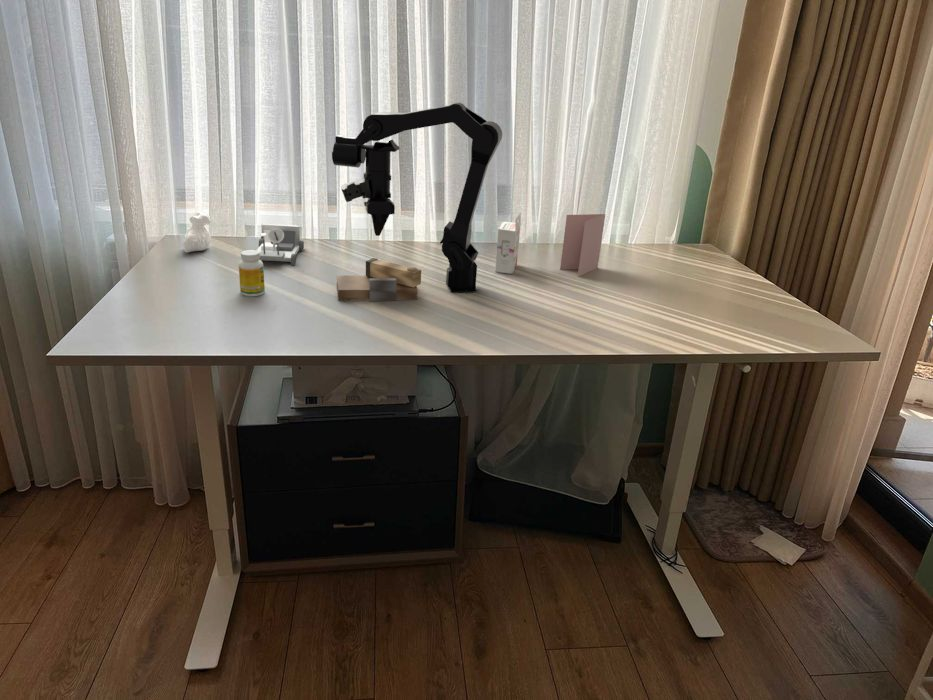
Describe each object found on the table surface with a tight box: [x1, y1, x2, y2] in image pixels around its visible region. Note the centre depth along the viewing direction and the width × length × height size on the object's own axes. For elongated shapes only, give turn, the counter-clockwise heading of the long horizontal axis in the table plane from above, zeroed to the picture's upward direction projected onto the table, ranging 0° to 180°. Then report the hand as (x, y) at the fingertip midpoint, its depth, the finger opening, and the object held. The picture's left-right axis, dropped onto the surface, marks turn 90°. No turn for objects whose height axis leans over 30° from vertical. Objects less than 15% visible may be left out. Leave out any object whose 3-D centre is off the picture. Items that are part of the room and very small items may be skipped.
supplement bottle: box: [238, 249, 265, 297], centre depth 160 cm, size 5×5×10 cm
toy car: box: [256, 223, 305, 266], centre depth 185 cm, size 18×10×12 cm
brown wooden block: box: [336, 275, 419, 302], centre depth 166 cm, size 18×11×5 cm, turn 102°
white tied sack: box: [182, 210, 212, 253], centre depth 187 cm, size 12×8×11 cm
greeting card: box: [559, 213, 606, 277], centre depth 189 cm, size 11×7×15 cm, turn 108°
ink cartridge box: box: [494, 212, 522, 275], centre depth 187 cm, size 9×5×15 cm, turn 168°
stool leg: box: [365, 257, 422, 287], centre depth 167 cm, size 14×3×4 cm, turn 62°
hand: (377, 234), depth 172 cm, fingers closed
